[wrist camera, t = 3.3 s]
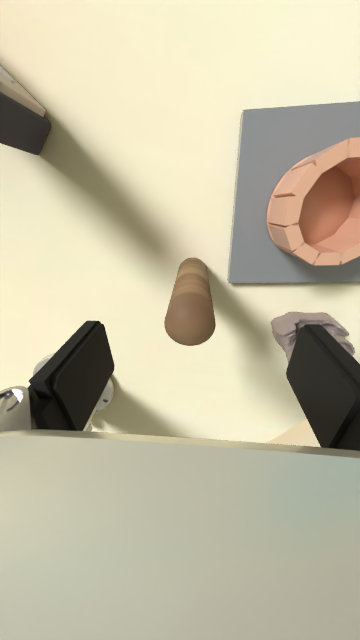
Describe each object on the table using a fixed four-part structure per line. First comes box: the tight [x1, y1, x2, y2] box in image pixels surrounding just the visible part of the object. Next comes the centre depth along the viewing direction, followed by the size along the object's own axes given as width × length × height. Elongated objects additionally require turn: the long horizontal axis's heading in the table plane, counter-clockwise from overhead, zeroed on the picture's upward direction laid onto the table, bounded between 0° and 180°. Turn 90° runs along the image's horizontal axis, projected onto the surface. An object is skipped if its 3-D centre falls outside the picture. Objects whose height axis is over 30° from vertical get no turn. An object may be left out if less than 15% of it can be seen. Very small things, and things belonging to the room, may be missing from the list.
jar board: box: [227, 102, 360, 283], centre depth 17 cm, size 14×14×6 cm
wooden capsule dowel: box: [165, 258, 215, 346], centre depth 18 cm, size 3×3×12 cm
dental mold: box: [271, 312, 355, 363], centre depth 24 cm, size 8×7×5 cm
